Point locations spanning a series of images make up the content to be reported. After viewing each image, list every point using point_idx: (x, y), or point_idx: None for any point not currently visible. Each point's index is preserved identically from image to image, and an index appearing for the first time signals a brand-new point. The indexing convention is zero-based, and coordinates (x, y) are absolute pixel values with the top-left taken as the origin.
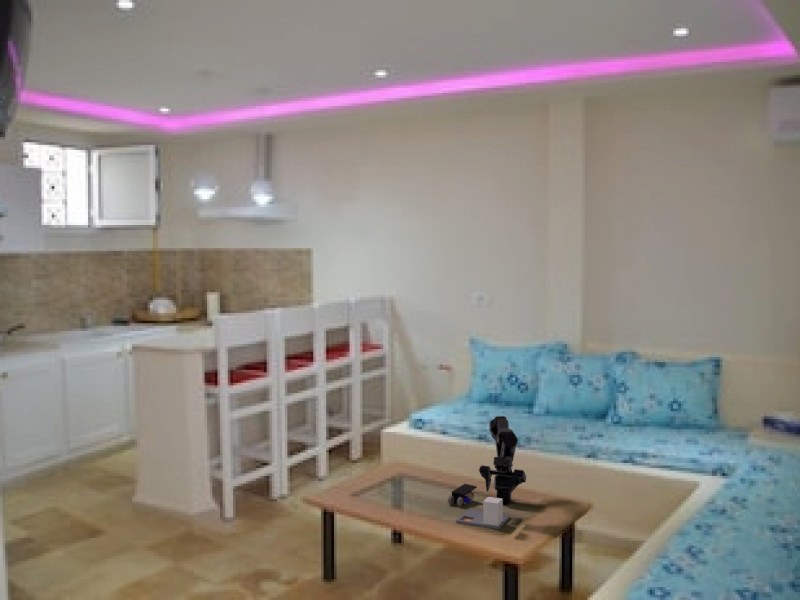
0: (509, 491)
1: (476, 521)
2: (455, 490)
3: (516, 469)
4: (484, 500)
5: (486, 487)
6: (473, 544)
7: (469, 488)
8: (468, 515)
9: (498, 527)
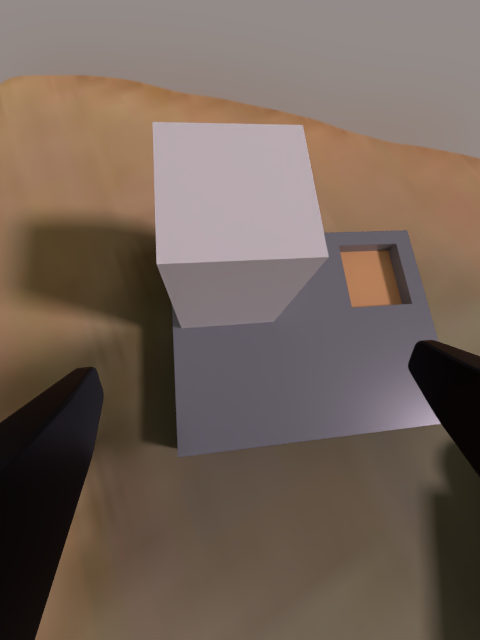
0: (66, 380)
1: None
2: None
3: None
4: (304, 147)
5: (473, 354)
6: (225, 113)
7: None
8: (395, 320)
9: None
